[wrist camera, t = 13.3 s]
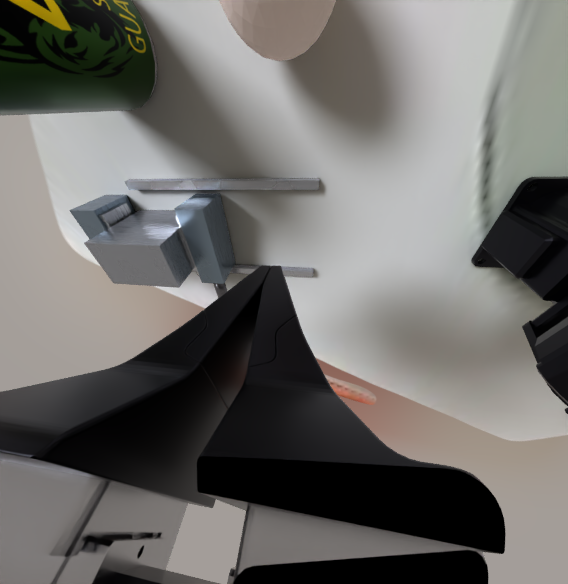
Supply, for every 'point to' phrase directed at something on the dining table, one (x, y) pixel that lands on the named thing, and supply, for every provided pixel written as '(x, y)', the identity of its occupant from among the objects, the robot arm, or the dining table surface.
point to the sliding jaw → (207, 238)
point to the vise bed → (118, 207)
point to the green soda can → (74, 57)
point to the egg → (278, 24)
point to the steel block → (144, 250)
